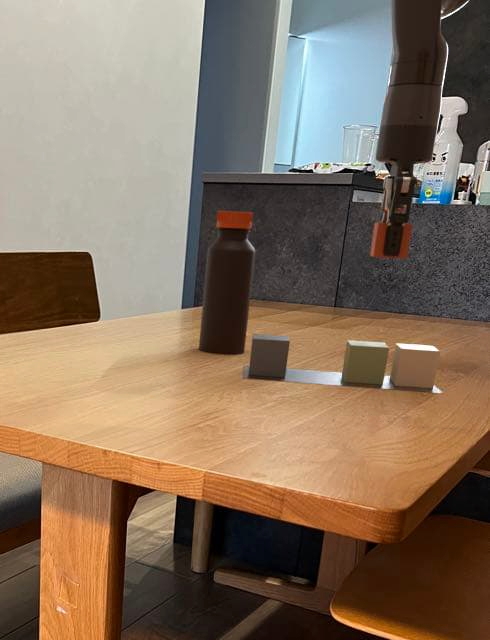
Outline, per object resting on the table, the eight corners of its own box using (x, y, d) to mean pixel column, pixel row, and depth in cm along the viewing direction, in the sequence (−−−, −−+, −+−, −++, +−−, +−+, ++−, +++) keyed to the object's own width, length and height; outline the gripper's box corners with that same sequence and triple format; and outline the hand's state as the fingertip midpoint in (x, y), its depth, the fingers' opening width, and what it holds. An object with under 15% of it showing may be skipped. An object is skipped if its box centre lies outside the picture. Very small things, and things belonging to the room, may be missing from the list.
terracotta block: (402, 257, 126) (407, 223, 124) (406, 258, 121) (412, 224, 120) (369, 255, 126) (374, 222, 125) (373, 256, 122) (378, 222, 121)
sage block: (378, 378, 111) (384, 342, 109) (382, 384, 107) (389, 347, 105) (341, 375, 112) (347, 340, 110) (345, 382, 108) (350, 345, 106)
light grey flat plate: (427, 383, 113) (428, 378, 113) (442, 398, 104) (443, 393, 103) (243, 369, 117) (243, 365, 116) (242, 382, 107) (242, 378, 107)
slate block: (284, 371, 113) (288, 336, 111) (285, 377, 109) (289, 340, 107) (248, 369, 114) (252, 333, 112) (248, 374, 110) (252, 338, 108)
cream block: (426, 382, 110) (433, 345, 109) (433, 388, 106) (440, 351, 104) (389, 379, 111) (395, 343, 109) (394, 385, 107) (401, 348, 105)
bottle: (207, 358, 124) (221, 211, 117) (192, 350, 130) (204, 210, 123) (251, 358, 126) (267, 213, 119) (233, 351, 132) (248, 212, 125)
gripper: (447, 119, 110) (423, 258, 117) (429, 130, 124) (408, 254, 130) (386, 118, 112) (366, 256, 118) (375, 128, 125) (357, 252, 131)
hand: (388, 254), depth 124 cm, fingers closed on terracotta block, 4 cm apart
